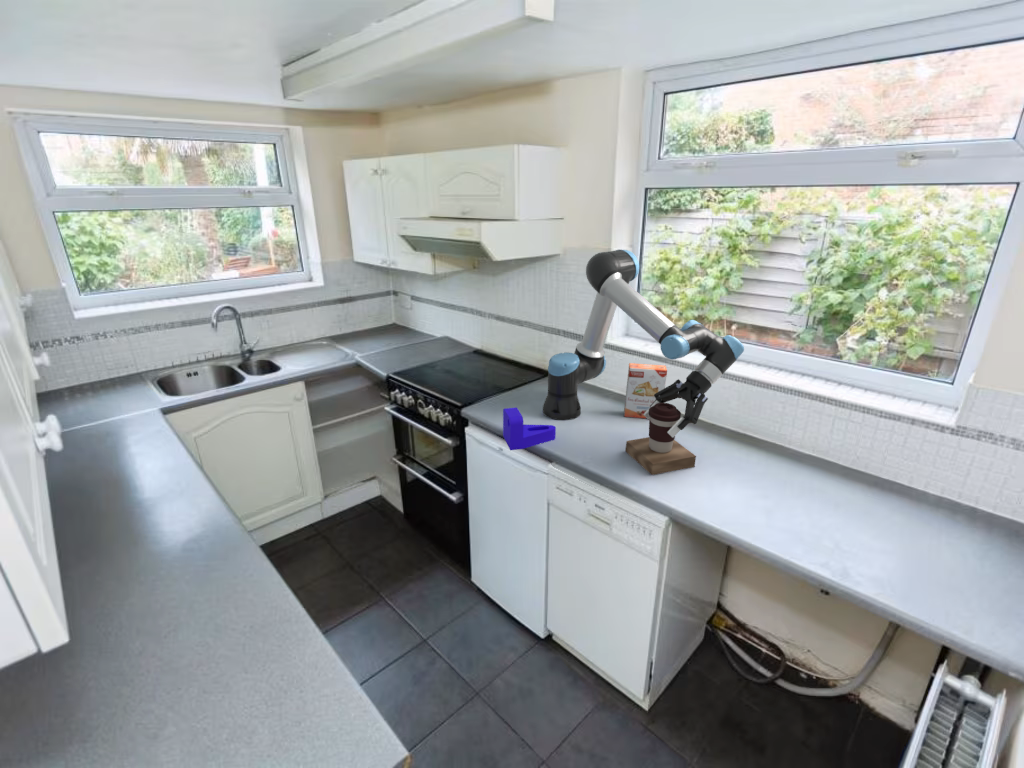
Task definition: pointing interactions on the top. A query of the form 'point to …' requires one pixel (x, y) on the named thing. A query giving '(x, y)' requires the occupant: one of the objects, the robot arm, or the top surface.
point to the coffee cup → (662, 426)
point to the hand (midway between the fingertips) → (657, 425)
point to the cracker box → (643, 388)
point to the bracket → (524, 431)
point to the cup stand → (660, 456)
